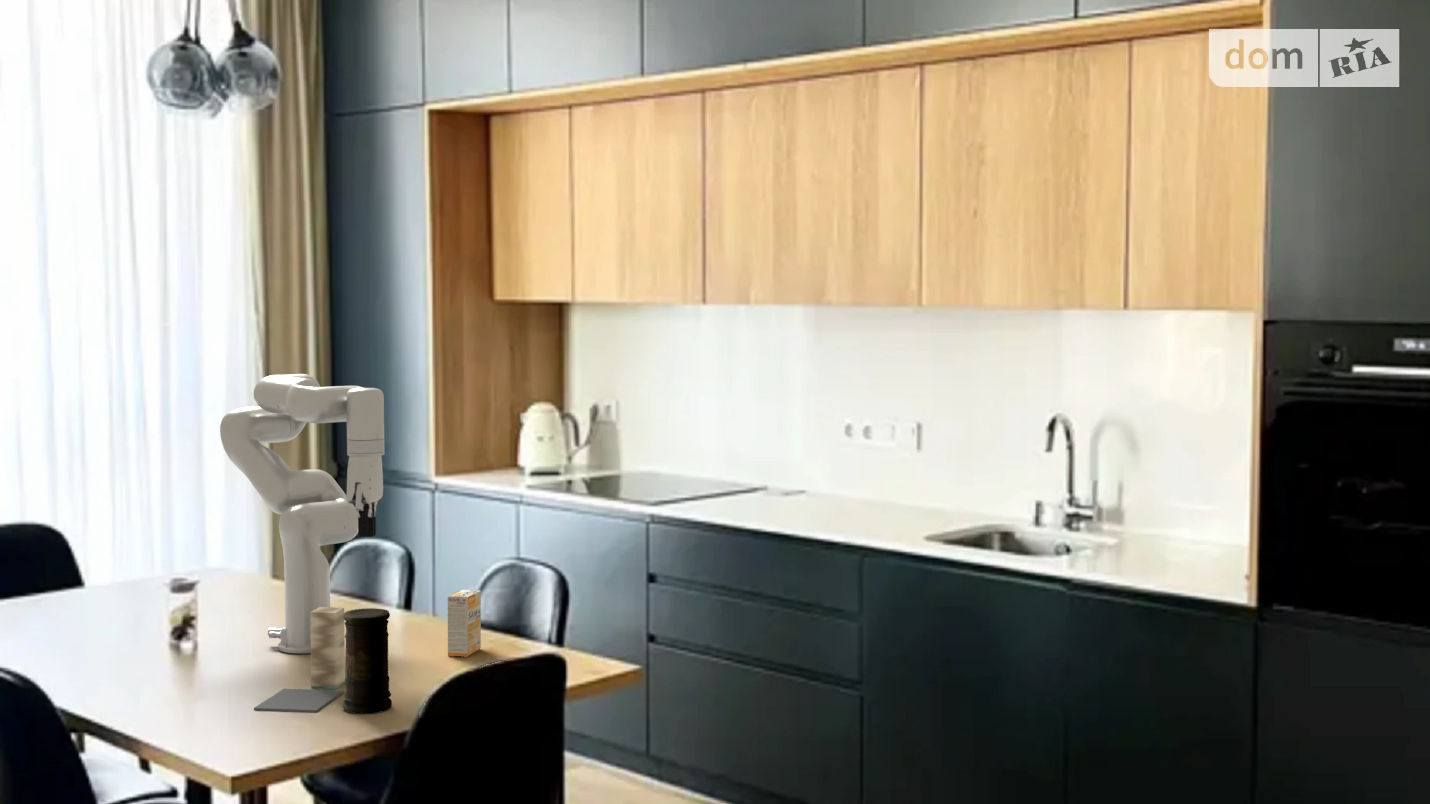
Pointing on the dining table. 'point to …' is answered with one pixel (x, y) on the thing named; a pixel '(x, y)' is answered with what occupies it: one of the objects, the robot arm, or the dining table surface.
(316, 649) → the beige patterned box
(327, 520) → the robot arm
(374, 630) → the container
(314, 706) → the mat
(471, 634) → the supplement box
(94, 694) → the dining table surface
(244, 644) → the dining table surface
